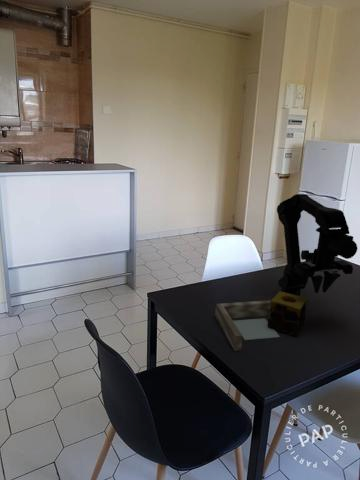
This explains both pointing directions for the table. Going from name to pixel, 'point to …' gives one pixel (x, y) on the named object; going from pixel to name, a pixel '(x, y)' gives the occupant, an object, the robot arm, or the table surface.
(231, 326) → the arena
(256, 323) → the mat
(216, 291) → the table surface
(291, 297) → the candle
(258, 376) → the table surface
